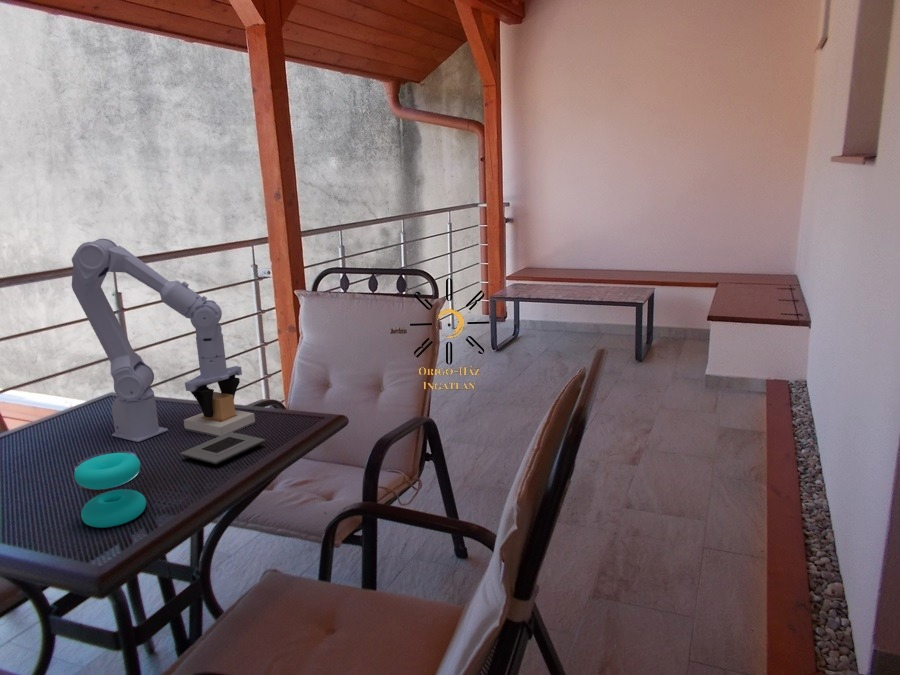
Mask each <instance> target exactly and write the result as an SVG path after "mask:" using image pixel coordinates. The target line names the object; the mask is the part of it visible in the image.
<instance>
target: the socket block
mask: <svg viewBox="0 0 900 675" xmlns="http://www.w3.org/2000/svg"><path fill="white" fill-rule="evenodd" d="M235 415H236V416H235V417H233V418H230V419H228V420H225V421H223V422H218V421H213V420H208V419H204V416H203V412H200V413H198V414H196V415H193V416H190V417H187V418H185V419H183V426H184V431H188V432H192V433H195V434H200V435H201V434H202V435H205V434H206V436H210V437H214V438H217V437H219V436H221V435H224V434H226V433H228V432H235V433H237V432H239V431H241V429H242V430H244V429H246V428H248V426H249V427H251V426H253V425H255V424H256V419H255V418H256V415H255V413H254V412H249V411H242V410H240V409H239V410H238V409H235ZM250 425H251V426H250ZM245 427H246V428H245ZM243 428H244V429H243ZM238 430H239V431H238ZM236 431H237V432H236Z"/></svg>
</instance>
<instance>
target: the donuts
mask: <svg viewBox="0 0 900 675" xmlns="http://www.w3.org/2000/svg"><path fill="white" fill-rule="evenodd" d="M140 469H141V461H140V459H139V457H137V456H136V455H134V454H132V453H128V452H127V453H126V452H113V453H107V454H101V455H98V456H94V457H92V458H89V459H86V460H85V461H83V462H81V463H80V464H79V465H78V466H77V467H76V469H74V470H75V471H74V473H73V474H74V475H73V476H74V481H75V482H76V483H77V485H79V486H80V487H82V488H86V489H88V490H89V489H90V490H106V489H112V488H115V487H118V486H121V485H124V484H126V483H128V482H129V481H131V480H132V479H133V478H135V477H136V476H137V474H138V473H139V472H140ZM146 507H147V500H146V497H145V496H144V495H143V494H142V493H141V492H139V491H137V490H134V489H126V488H124V489H123V488H119V489H113V490H108V491H105V492H102V493H99V494H97V495H96V496H93V497H92V498H91V499H90V500H88V501H87V502H86V503H85V504H84V506H83V507H82V509H81V511H80V512H81V513H80V514H81V515H80V518H81V520H82V522H83V523H84V524H85V525H87V526H90V527H92V528H99V529H103V528H113V527H116V526H120V525H123V524H126V523H130V522H131V521H133V520H135V519H136V518H138V517H140V516H141V514H143V512H144V511H145V508H146Z"/></svg>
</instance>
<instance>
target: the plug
mask: <svg viewBox="0 0 900 675" xmlns="http://www.w3.org/2000/svg"><path fill="white" fill-rule="evenodd" d="M212 406H213V417H211V418H209V417H204V419H208V420H213V421H218V422H223V421H225V420H228V419H230V418H233V417H235V416H236V415H235V410H236V408H235V397H234V398H233V395H231V394H225V393H221V392H219V391H214V392H213V398H212ZM203 416H204V414H203Z"/></svg>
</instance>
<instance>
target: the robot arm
mask: <svg viewBox="0 0 900 675" xmlns="http://www.w3.org/2000/svg"><path fill="white" fill-rule="evenodd" d="M71 257H72V258H71V262H72V276H71V290H72V291H73V293H74V295H75V297H76V299H77V301H78V302H79V304H80V305H79V306H80V307H81V308H82V310H83V312H84V314H85V316H86V318H87V319H88V323H89V324H90V326H91V328H92V330H93V331H94V333H95V336H96V337H97V339H98V341H99V343H100V345H101V347H102V348H103V349H102V350H104V352H105V354H106V356H107V359H108V360H109V362H110V375H111V377H112V379H113V390H114V392H115V394H116V397H115V399H114V400H113V402H112V406H111V413H112V420H113V425H114V426H113V427H114V431H115V432H114V433H111V436H112V437H115V438H118V439H123V440H128V441H132V442H134V443H135V442H136V443H140V442H143V441H144V440H147V439H150V438H152V437H155V436H157V435H160V434H163V433H165V432H168V431H169V429H168V428H167V427H162V426H160V425H159V418H158V411H157V403H156V398H155V397H156V396H155V392H154V390H153V389H152V387H151V386H152V384H153V383H154V380H155V373H154V370H153V369H152V367H151V366H149V365H148V364H146V363H145V362H144V360H143V358H142V356H141V355H139V354H138V353H136V352H135V350H134V349H133V347H132V345H131V343H130V341H129V339H128V337H127V335H126V333H125V332H124V330H123V327H122V326H121V323H120V321H119V319H118V318H117V316H116V314H115V312H114V310H113V307H112V306H111V303H110V302H109V300H108V297H107V295H106V294H105V292H104V290H103V288H102V285H103V282H104V281H105V279H106V276H107V274H108V272H109V273H124V274H125V273H126V274H128V275H129V276H131V277H132V278H134V279H135V280H138V281H139V282H140V283H142V284H144V285H145V286H147V287H149V288H150V289H152V290H154V291H155V292H157V293H158V294H159V296H160V299H161V300H160V301H161V302H162V303H164V304H165V305H166V306H167V307H169V308H171V309H172V310H174V311H175V312H177V314H180V315H182V317H185V319H189V320H190V323H191V325H192V326H193V328H194V329H195V335H196V336H195V342H196V350H197V358H198V364H199V374H200V375H198V376H197V375H196V376H195V377H194V378H192V379H190V380H187V381H185V382H184V386H185V391H186V392H190V393H191V395H192V396H193V398H195V399H196V401H197V403H198V404H199V407H200V409H201V411H202V413H203V414H204V417H209V418H211V417H213V406H212V398H213V392H215V390H214V389H213V388H209V386H210V385H212V384H216V383H217V384H218V388H219V391H220V393H225V394H231V395H233V398H234V399H235V395H236V392H237V390H238V387H239V385H240V383H241V380H240V377H238V376H242V375H243V371H242V366H238V365H234V366H230V367H227V360H226V351H225V343H224V334H223V332H222V324H221V322H220V321H221V320H222V317H223V313H222V312H223V311H222V308H221V307H220V305H218V304H217V302H216V301H214V300H210V299H208V297H207V296H205V295H203V296H202V295H200V294H198V293H197V292H196V291H194V290H193V289H191V288H189V283H187V281H183V282H181V281H180V280H172V281H171V280H168V279H167V278H165V277H164V276H163V275H162V274H160V273H159V272H157V271H156V270H154V269H153V268H152V267H150V266H149V265H148V264H146V263H145V262H143V261H142V259H140V258H138V257H137V256H135V255H134V254H133V253H131V251H129V250H128V249H126V248H125V247H122V246H121V245H117V243H115V242H114V241H113V240H111V239H108V238H99V239H96V240H93V241H86V242H84V243H81V244H80V245H79V246H78V247H77V249H76V250H75V252H74V253H73V256H71ZM236 376H237V377H236Z"/></svg>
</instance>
